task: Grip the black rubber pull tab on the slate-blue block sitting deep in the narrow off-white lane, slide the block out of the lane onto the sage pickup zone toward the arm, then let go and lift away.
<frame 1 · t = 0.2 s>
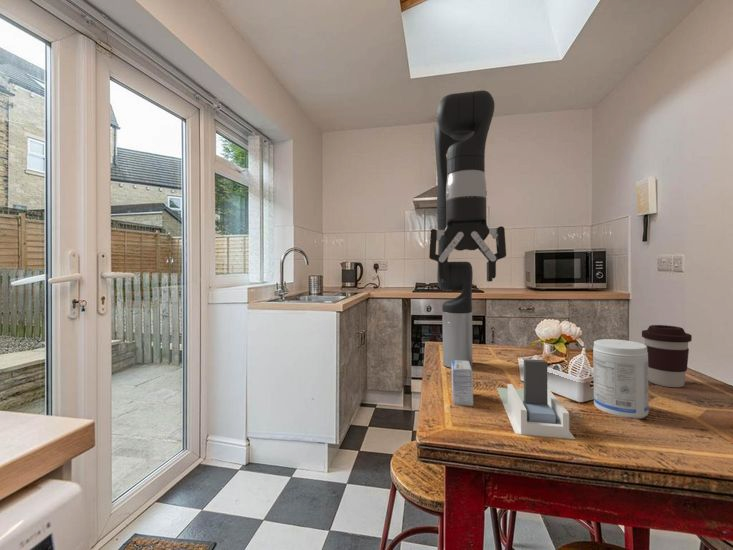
hand: (466, 281, 67), 29 cm above the table, fingers open, 8 cm apart
medicine box: (461, 402, 81), on the table
coffee cup: (665, 384, 91), on the table
lane block: (538, 425, 67), point 1 cm above the table, touching lane fixture
lane fixture: (528, 411, 75), on the table
supplement tub: (619, 412, 74), on the table
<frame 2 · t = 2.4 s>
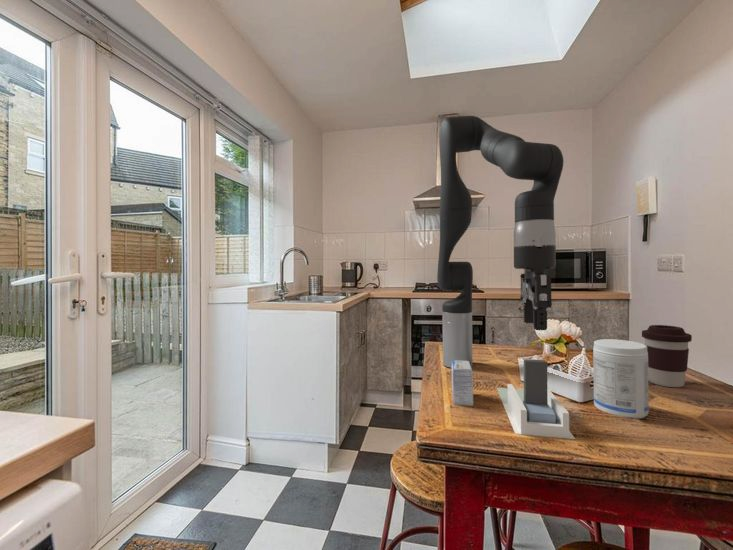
hand: (534, 326, 69), 20 cm above the table, fingers open, 8 cm apart
nothing on the table moved.
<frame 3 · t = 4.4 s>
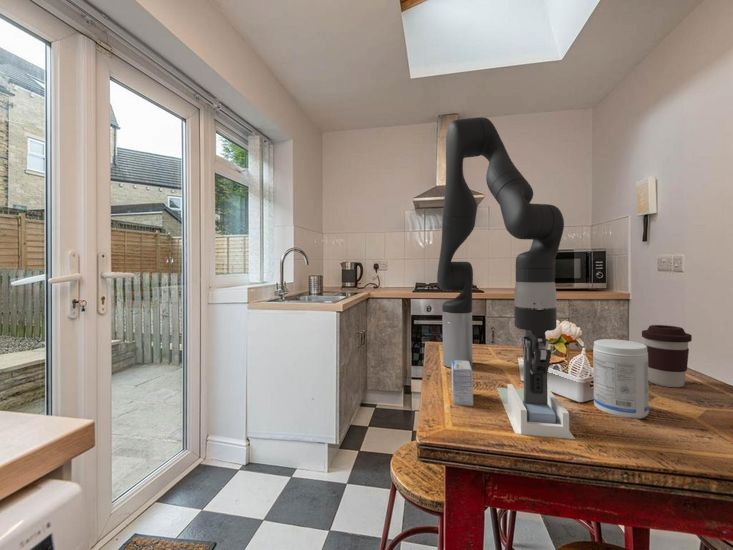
hand: (535, 390, 69), 7 cm above the table, fingers closed on lane block
lane block: (538, 425, 67), point 1 cm above the table, touching gripper, lane fixture
everything else where it was.
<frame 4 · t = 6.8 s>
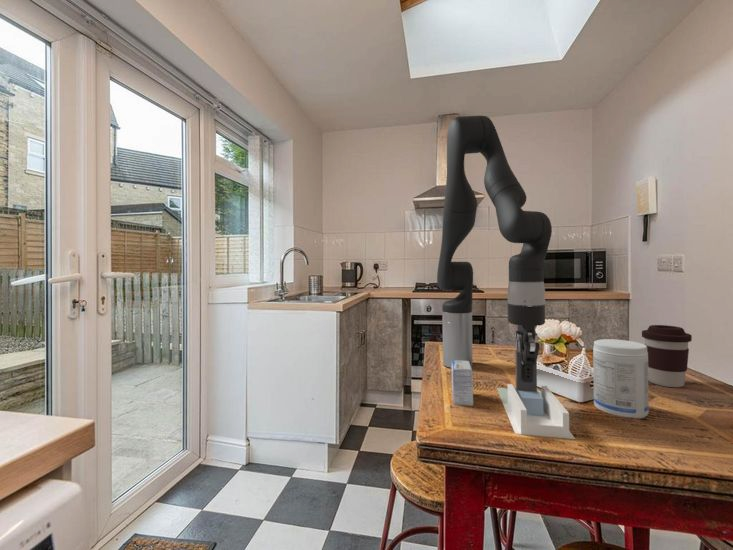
hand: (526, 379, 76), 6 cm above the table, fingers closed on lane block
lane block: (528, 409, 74), point 1 cm above the table, touching gripper
everything else where it was.
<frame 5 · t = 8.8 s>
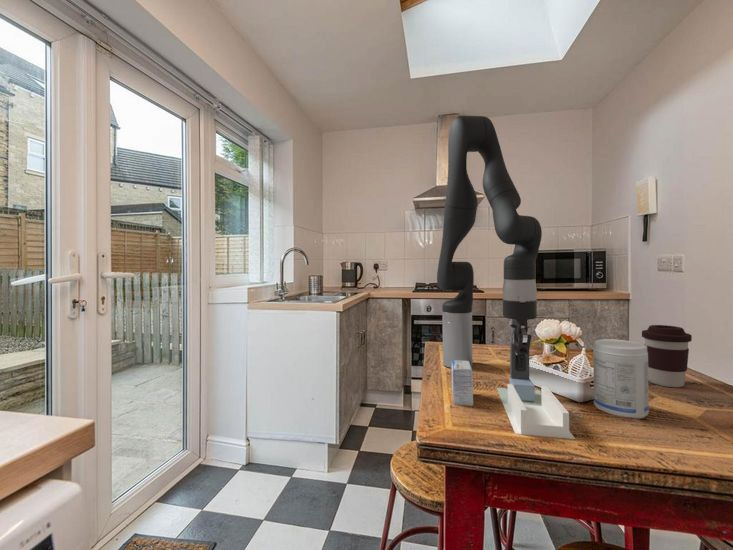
hand: (519, 369, 84), 6 cm above the table, fingers closed on lane block
lane block: (521, 395, 82), point 1 cm above the table, touching gripper
everything else where it was.
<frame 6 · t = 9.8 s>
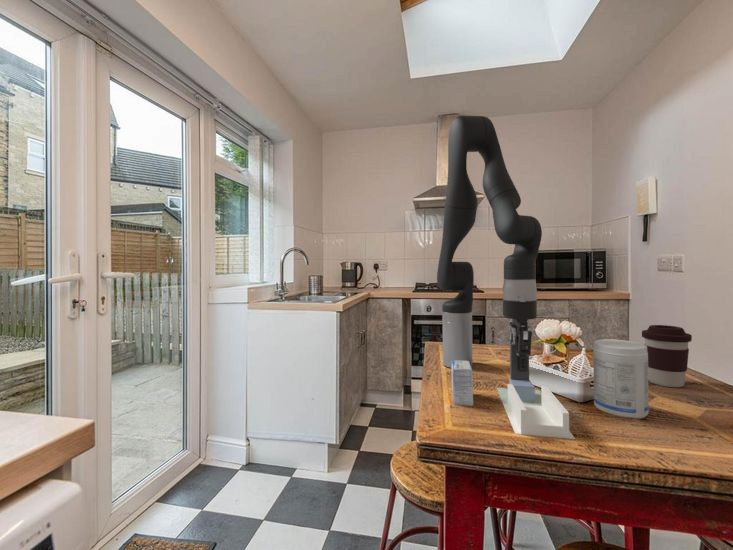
hand: (519, 367, 84), 7 cm above the table, fingers open, 4 cm apart
lane block: (521, 396, 82), point 1 cm above the table, touching lane fixture
everything else where it was.
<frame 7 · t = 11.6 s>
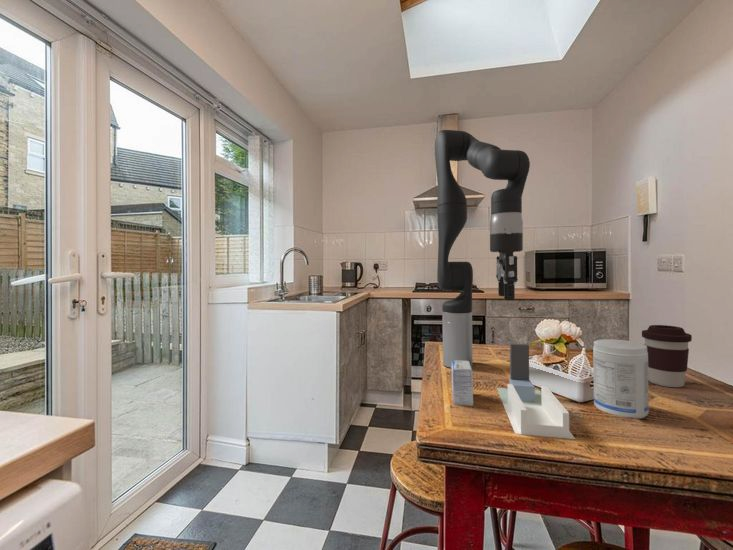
hand: (506, 298, 86), 24 cm above the table, fingers open, 8 cm apart
nothing on the table moved.
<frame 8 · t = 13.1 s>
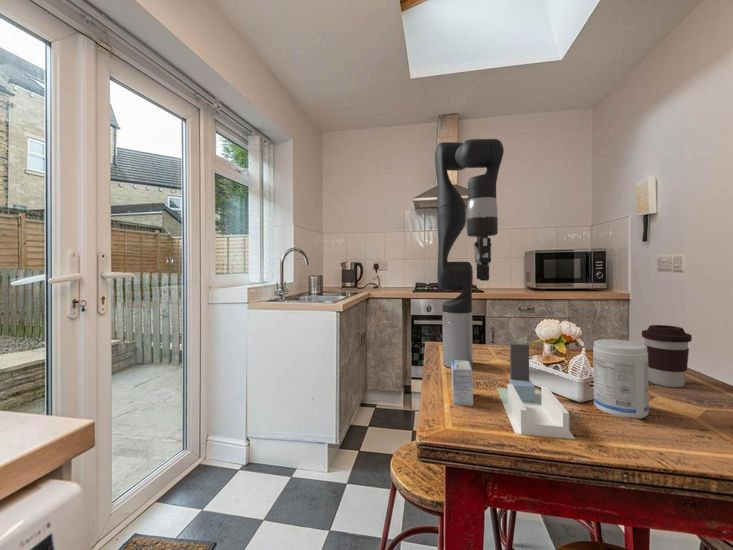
hand: (482, 279, 90), 28 cm above the table, fingers open, 8 cm apart
nothing on the table moved.
at the end: lane block inside the target area (0.3 cm from its centre), point 0.6 cm above the table; lane block tilted 0°; the gripper is holding nothing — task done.
